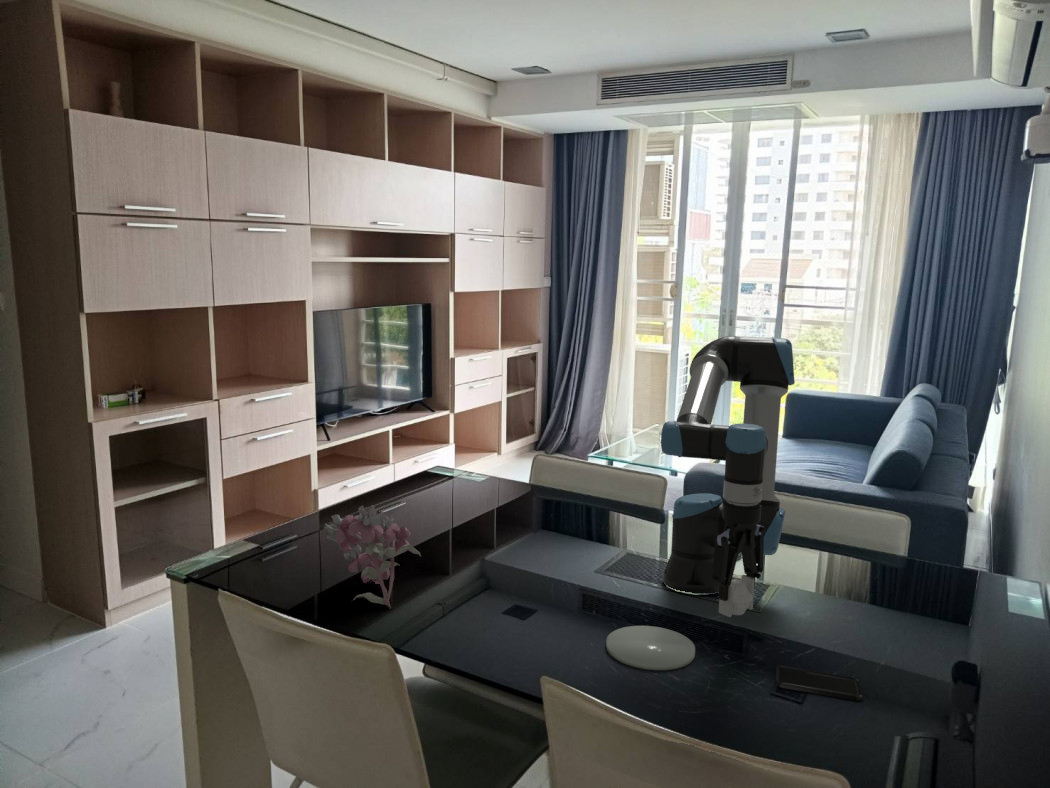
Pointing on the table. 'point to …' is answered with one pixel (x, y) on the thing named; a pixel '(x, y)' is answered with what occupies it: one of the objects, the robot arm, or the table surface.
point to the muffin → (740, 597)
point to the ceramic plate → (650, 647)
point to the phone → (818, 683)
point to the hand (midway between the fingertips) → (735, 610)
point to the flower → (371, 546)
